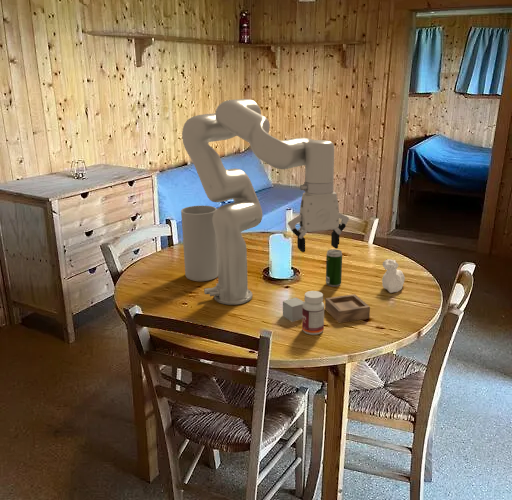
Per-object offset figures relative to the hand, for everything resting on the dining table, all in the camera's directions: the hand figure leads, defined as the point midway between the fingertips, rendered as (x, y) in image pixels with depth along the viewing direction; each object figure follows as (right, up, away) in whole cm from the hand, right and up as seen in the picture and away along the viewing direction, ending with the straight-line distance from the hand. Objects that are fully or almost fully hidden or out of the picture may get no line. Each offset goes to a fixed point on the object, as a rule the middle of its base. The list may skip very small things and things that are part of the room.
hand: (318, 249), depth 144 cm
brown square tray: (+11, -20, +16) cm, 27 cm away
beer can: (+10, -12, +38) cm, 41 cm away
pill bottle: (-1, -24, +6) cm, 24 cm away
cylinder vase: (-37, -10, +48) cm, 62 cm away
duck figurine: (+29, -14, +34) cm, 46 cm away
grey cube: (-6, -21, +14) cm, 26 cm away
